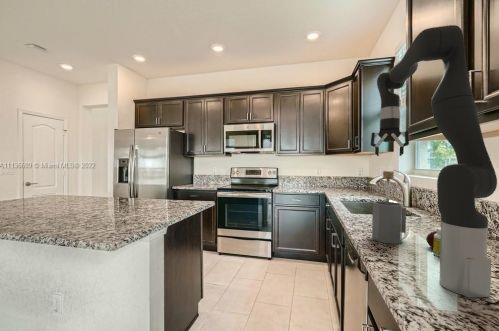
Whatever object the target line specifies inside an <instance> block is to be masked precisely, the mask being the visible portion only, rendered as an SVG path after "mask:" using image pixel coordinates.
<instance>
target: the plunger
mask: <svg viewBox="0 0 499 331" xmlns="http://www.w3.org/2000/svg"><path fill="white" fill-rule="evenodd" d="M394 173H395V172H394V171H389V170H387V171H386V170H384V171H382V178H383V179H386V182H385V183H386V189H385V200H386V205H389V200H390V188H391V186H390V184H391V181H390V180H391V179H392V180H393V179H394V178H395V177H394V176H395V174H394Z"/></svg>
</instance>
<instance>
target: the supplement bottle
mask: <svg viewBox="0 0 499 331" xmlns="http://www.w3.org/2000/svg"><path fill="white" fill-rule="evenodd" d="M435 231H436V232H437V233H436V234H434V247H433V248H432V250H433V252H432V253H433V254H434V255H435V256H436V257H439V258H440V244H441V227H436V230H435Z"/></svg>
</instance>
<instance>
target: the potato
mask: <svg viewBox="0 0 499 331" xmlns="http://www.w3.org/2000/svg"><path fill="white" fill-rule="evenodd" d="M436 233H437V232H436V230H433V231H431V232H430V233H428V234H427V236H426V243H427V244H428V246H429V247H430V248H432V249H433V247H434V234H436Z"/></svg>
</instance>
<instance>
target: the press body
mask: <svg viewBox="0 0 499 331" xmlns="http://www.w3.org/2000/svg"><path fill="white" fill-rule="evenodd" d="M371 222H372V226H371V228H372V229H371V232H372V233H371V236H372V240H374V241H376V242H378V243H383V244H388V245H401V244H402V243H403V234H405V233H406V227H407V226H406V225H407V207H404V204H402V203H400V202H399V203H394V202H389V205H386V202H385V201H384V200H383V201H381V200H380V201H376V200H375V201H373V202H372V221H371Z"/></svg>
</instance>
